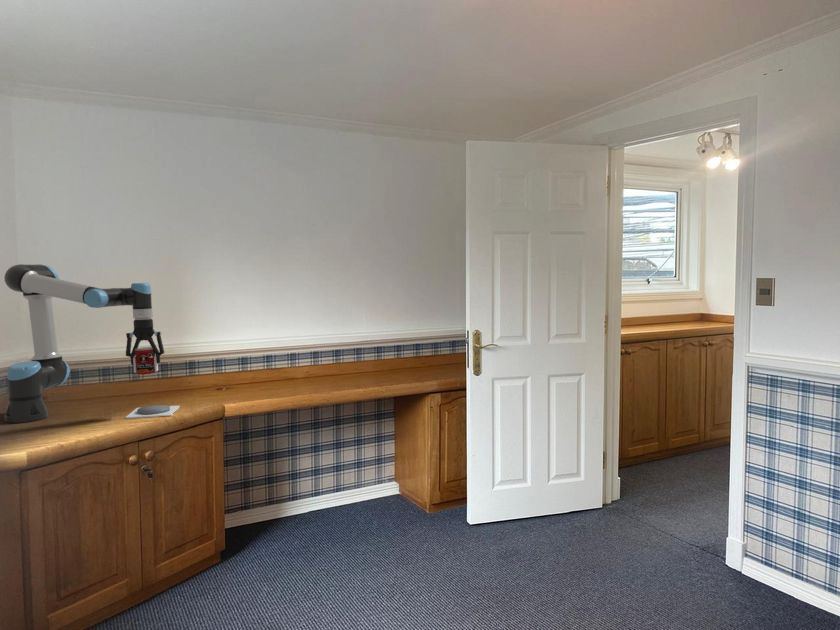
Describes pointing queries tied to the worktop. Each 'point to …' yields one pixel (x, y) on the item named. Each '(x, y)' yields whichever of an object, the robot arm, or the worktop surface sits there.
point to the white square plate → (153, 411)
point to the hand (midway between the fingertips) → (146, 371)
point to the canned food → (144, 360)
